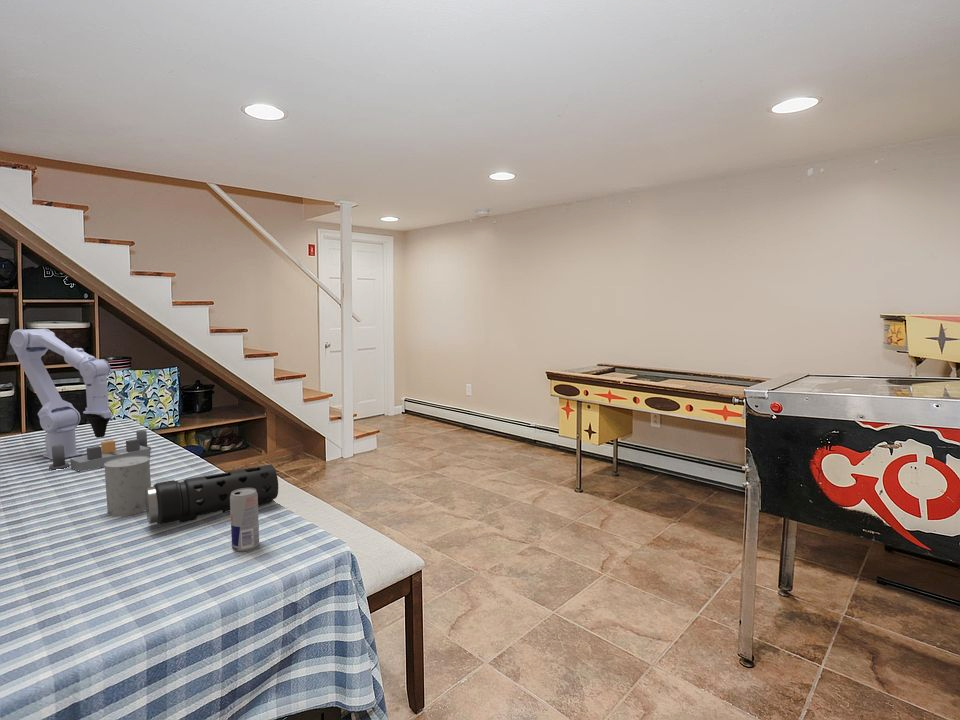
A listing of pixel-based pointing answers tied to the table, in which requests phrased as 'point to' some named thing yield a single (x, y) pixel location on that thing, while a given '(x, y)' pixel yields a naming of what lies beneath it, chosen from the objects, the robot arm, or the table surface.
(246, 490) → the energy drink
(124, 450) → the box
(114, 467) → the concrete cylinder
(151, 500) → the muzzle brake
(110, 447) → the switch
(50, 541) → the table surface
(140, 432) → the post
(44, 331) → the robot arm
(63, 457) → the grey disc-based knob
